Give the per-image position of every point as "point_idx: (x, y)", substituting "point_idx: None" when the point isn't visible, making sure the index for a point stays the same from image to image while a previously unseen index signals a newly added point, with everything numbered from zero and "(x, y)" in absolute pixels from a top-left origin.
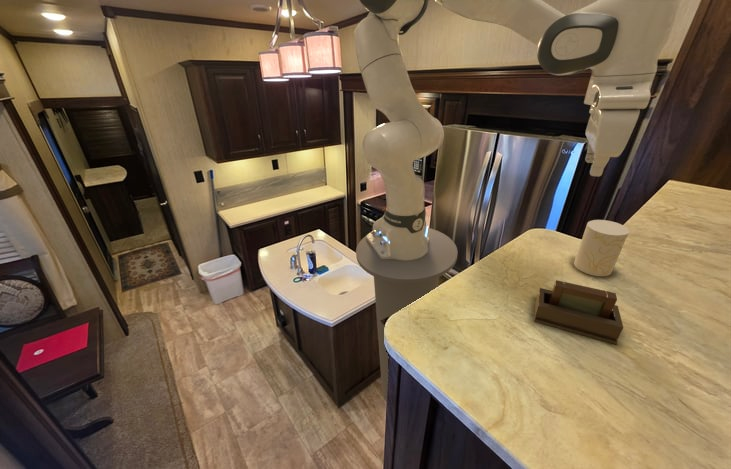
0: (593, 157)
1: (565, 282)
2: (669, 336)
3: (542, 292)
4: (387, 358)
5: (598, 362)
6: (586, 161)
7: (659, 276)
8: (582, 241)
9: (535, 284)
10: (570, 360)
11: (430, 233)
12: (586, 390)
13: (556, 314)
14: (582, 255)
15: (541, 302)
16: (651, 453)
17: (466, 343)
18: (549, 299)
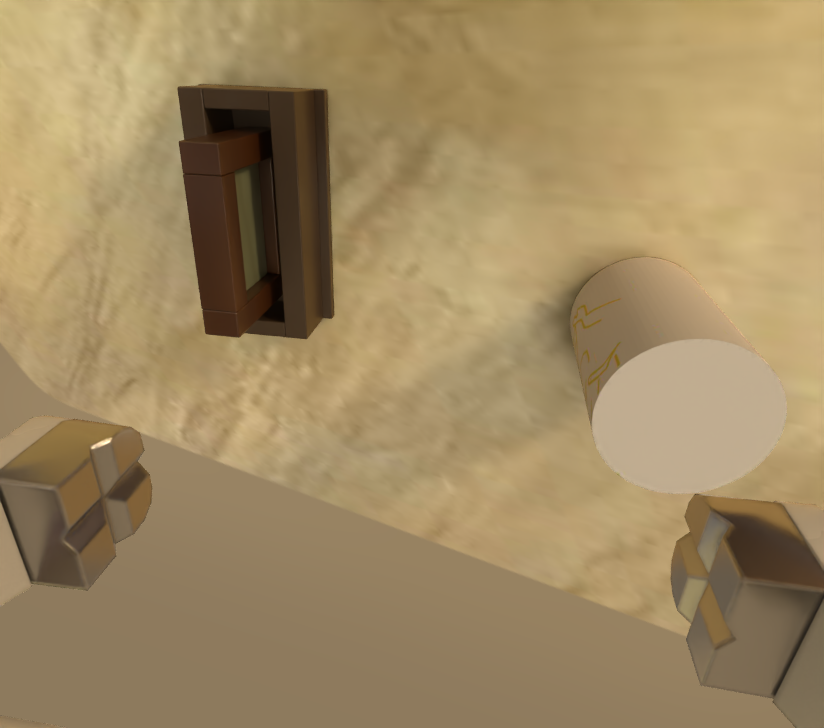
0: (699, 608)
1: (218, 182)
2: (325, 425)
3: (264, 103)
4: None
5: (141, 252)
6: (699, 498)
7: (621, 494)
8: (665, 300)
9: (431, 88)
10: (105, 186)
11: None
12: (37, 212)
13: None
14: (619, 289)
15: (199, 98)
16: None
17: None
18: (256, 132)
